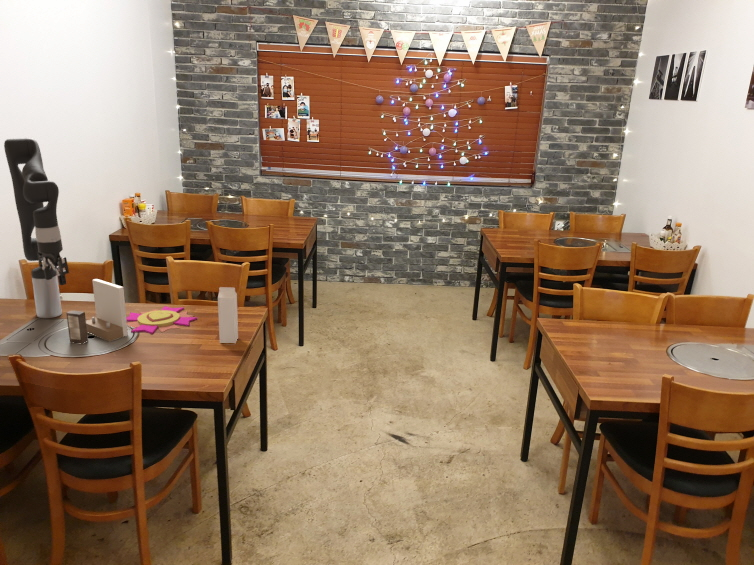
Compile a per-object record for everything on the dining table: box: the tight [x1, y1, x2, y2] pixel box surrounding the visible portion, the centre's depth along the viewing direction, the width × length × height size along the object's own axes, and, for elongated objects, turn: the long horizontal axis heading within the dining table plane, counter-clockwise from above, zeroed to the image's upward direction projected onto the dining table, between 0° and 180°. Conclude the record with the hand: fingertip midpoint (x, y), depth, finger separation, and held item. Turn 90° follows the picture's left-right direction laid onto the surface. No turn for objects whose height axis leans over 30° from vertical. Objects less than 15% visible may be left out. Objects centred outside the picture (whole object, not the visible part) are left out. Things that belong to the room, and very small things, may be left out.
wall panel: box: [86, 278, 129, 342], centre depth 228 cm, size 17×8×20 cm, turn 58°
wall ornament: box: [126, 305, 198, 335], centre depth 246 cm, size 30×2×30 cm
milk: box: [217, 286, 239, 344], centre depth 225 cm, size 6×6×22 cm
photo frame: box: [65, 310, 89, 345], centre depth 220 cm, size 6×3×12 cm, turn 78°
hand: (56, 281), depth 209 cm, fingers open, 8 cm apart
